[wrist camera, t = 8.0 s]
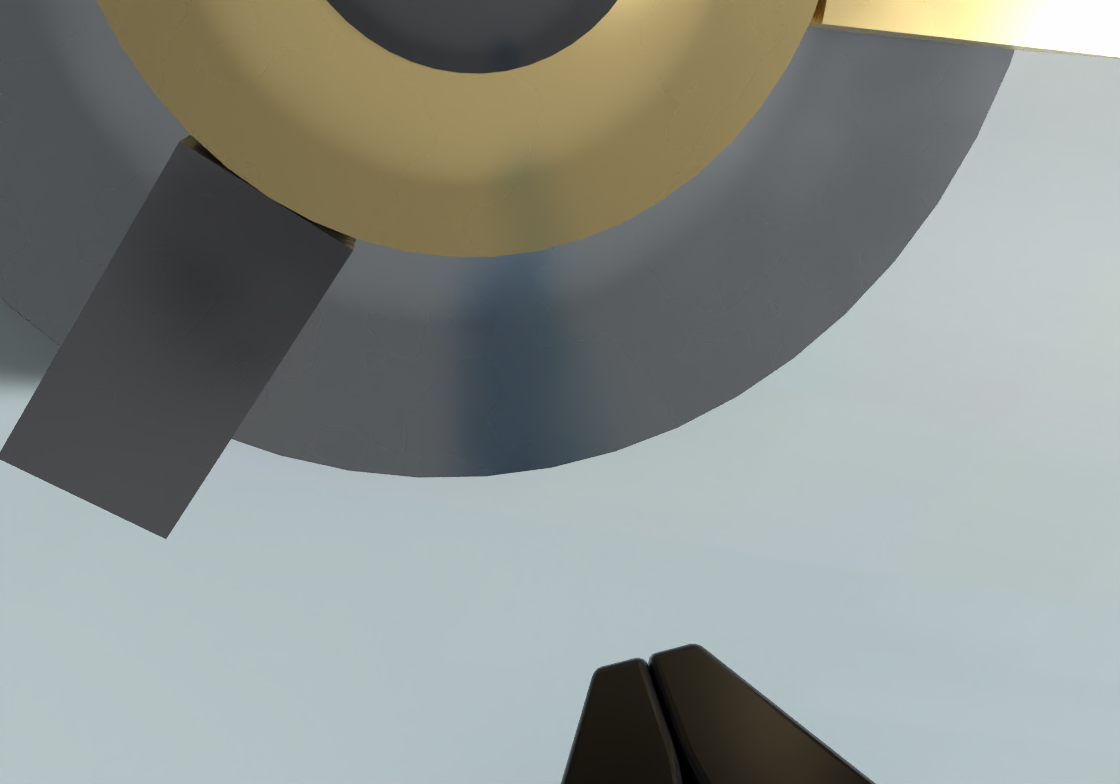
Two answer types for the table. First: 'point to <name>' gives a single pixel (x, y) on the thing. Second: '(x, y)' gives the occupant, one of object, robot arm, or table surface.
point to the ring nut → (402, 177)
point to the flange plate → (517, 257)
